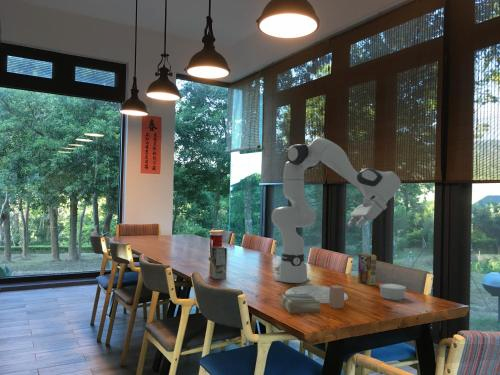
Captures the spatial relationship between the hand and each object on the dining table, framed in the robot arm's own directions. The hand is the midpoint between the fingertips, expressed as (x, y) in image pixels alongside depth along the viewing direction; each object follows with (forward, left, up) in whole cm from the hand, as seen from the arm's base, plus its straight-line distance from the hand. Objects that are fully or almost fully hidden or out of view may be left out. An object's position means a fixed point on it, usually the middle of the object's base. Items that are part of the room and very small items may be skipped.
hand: (352, 226), depth 170 cm
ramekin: (-5, +23, -33) cm, 40 cm away
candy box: (-33, +26, -33) cm, 53 cm away
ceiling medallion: (-14, -10, -33) cm, 37 cm away
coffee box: (-56, -49, -33) cm, 81 cm away
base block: (+5, -25, -32) cm, 41 cm away
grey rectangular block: (+5, -9, -32) cm, 34 cm away
